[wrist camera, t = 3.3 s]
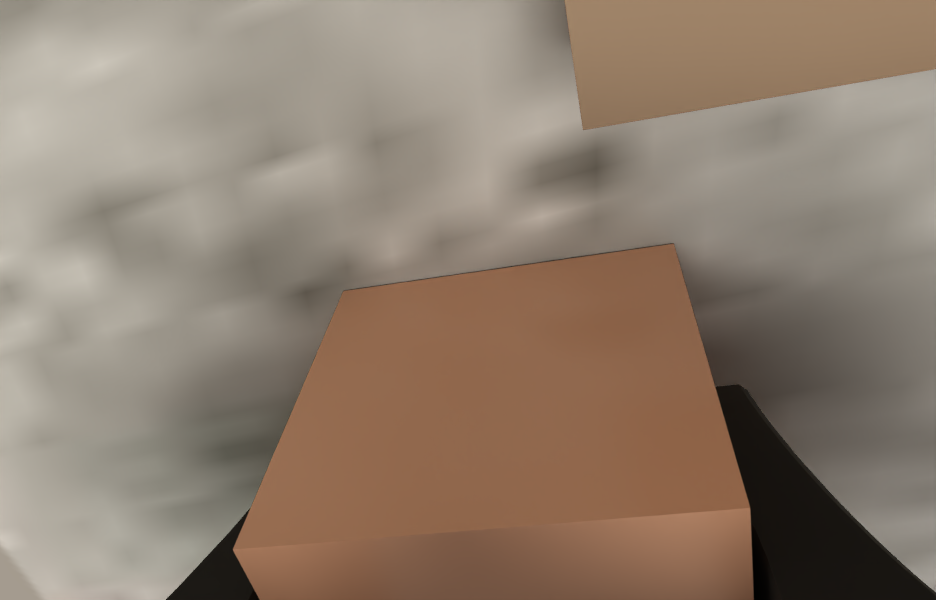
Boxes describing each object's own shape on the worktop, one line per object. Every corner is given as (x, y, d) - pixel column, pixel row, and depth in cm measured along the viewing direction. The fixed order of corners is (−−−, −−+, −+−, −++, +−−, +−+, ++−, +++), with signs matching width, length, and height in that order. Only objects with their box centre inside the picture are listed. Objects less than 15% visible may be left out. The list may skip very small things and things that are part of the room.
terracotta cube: (695, 492, 14) (761, 797, 9) (421, 516, 15) (368, 803, 10) (673, 243, 11) (749, 508, 7) (343, 290, 12) (232, 549, 8)
